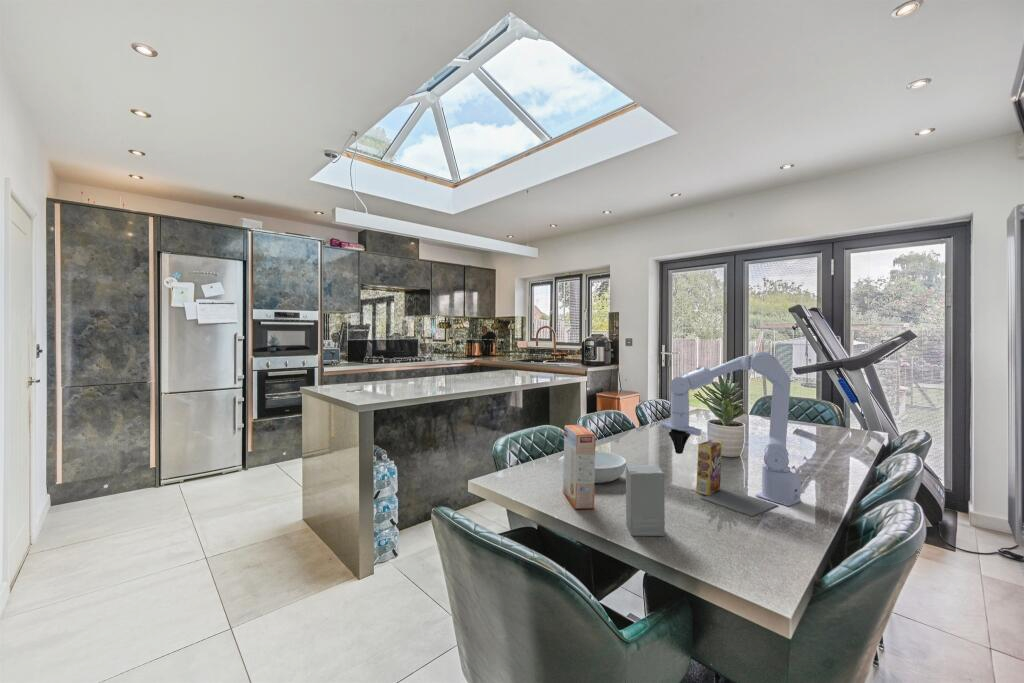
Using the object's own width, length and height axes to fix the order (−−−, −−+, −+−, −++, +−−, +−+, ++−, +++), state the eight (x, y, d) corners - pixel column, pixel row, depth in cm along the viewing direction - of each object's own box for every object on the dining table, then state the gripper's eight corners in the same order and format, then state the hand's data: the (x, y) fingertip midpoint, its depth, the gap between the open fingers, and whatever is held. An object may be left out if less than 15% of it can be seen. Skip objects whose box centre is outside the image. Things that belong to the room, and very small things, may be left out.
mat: (778, 506, 124) (778, 505, 124) (752, 516, 116) (752, 515, 116) (727, 490, 136) (727, 489, 136) (701, 498, 128) (701, 497, 128)
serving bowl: (560, 468, 157) (561, 449, 157) (618, 470, 156) (619, 451, 156) (565, 488, 136) (565, 466, 136) (632, 490, 135) (632, 468, 135)
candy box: (710, 496, 130) (710, 446, 130) (695, 493, 133) (696, 443, 133) (721, 490, 136) (722, 441, 136) (707, 486, 140) (708, 439, 139)
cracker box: (595, 509, 120) (596, 434, 120) (574, 510, 119) (575, 434, 119) (581, 491, 134) (582, 424, 133) (562, 492, 133) (563, 424, 133)
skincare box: (657, 525, 110) (658, 463, 109) (665, 538, 102) (666, 472, 102) (623, 524, 110) (624, 462, 110) (629, 537, 103) (630, 471, 103)
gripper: (706, 414, 140) (706, 456, 140) (668, 408, 152) (668, 446, 152) (693, 416, 136) (693, 459, 136) (655, 410, 149) (655, 449, 149)
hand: (679, 453), depth 144 cm, fingers closed
